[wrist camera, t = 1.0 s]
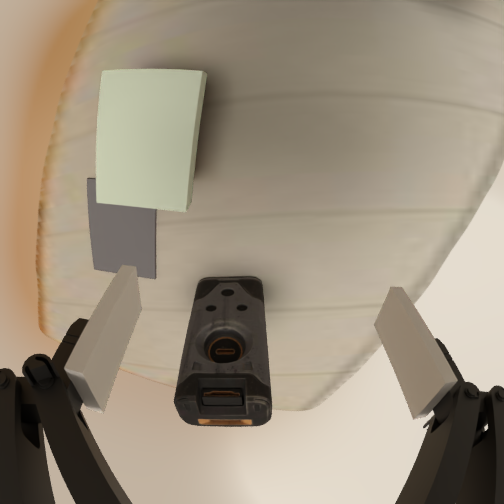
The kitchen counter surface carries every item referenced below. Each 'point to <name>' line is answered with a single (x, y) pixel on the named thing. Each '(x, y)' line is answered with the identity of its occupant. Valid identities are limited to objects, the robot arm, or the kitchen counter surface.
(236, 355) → the electronic device
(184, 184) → the block
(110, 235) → the mat
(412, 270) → the kitchen counter surface
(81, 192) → the kitchen counter surface
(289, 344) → the kitchen counter surface
